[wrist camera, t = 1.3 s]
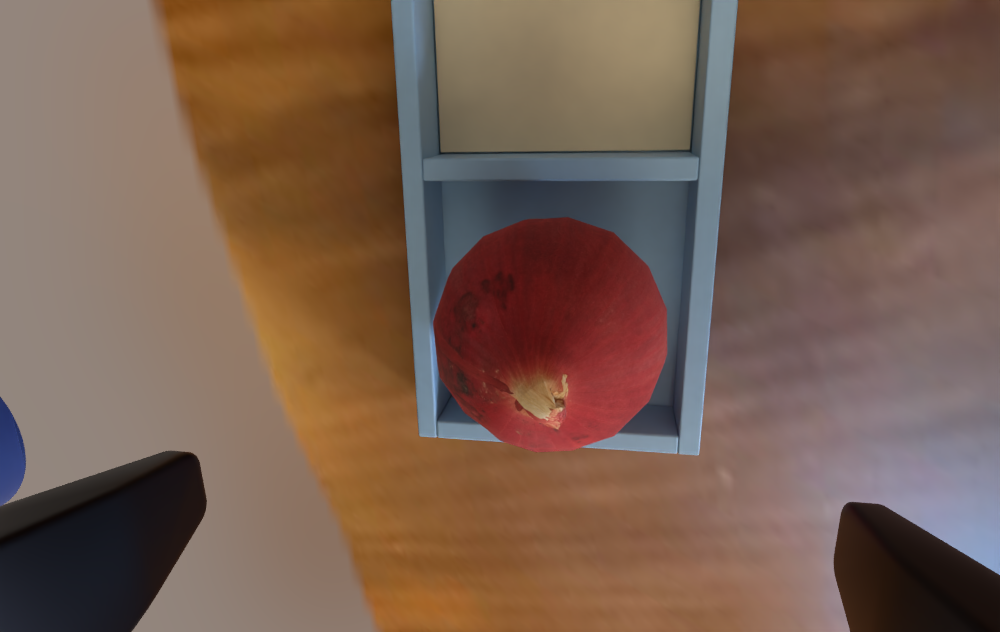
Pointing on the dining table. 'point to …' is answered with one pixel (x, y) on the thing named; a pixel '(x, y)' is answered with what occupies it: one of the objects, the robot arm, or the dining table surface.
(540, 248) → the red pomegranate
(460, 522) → the dining table surface
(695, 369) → the divided blue tray
